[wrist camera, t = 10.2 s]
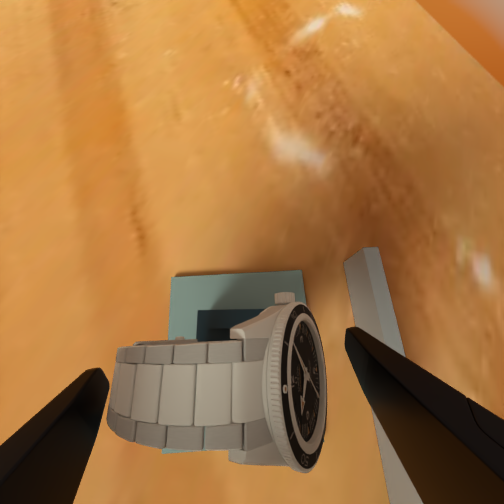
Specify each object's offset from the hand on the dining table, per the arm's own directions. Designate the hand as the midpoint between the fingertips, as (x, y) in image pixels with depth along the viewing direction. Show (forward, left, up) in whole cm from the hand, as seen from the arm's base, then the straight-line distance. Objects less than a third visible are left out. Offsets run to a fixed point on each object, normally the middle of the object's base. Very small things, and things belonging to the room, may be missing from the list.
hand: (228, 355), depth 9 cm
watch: (-1, 0, -8) cm, 8 cm away
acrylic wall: (-2, -9, -9) cm, 13 cm away
